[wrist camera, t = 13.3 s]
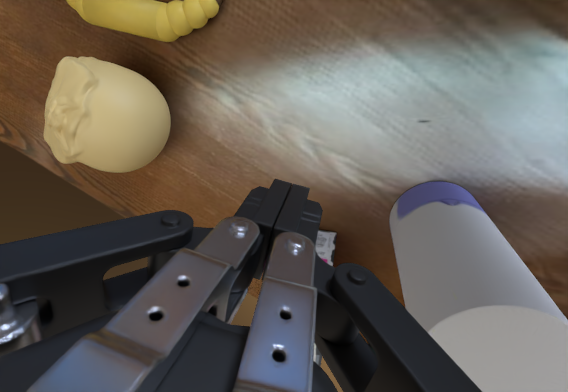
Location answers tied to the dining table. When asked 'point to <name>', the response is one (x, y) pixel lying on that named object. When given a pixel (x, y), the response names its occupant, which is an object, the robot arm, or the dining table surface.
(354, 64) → the dining table surface
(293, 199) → the robot arm
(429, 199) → the container
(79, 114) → the sculpture
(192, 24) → the yellow curved piece
